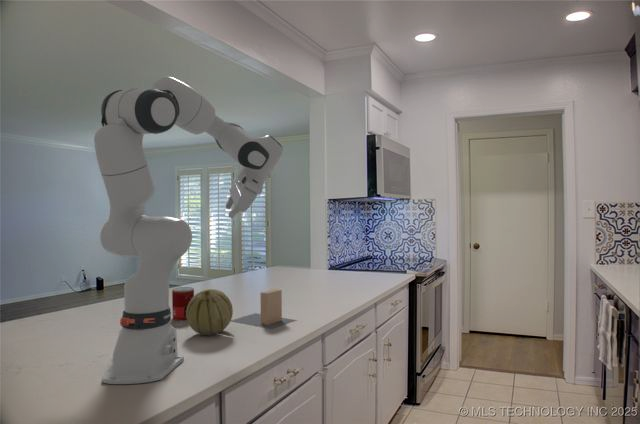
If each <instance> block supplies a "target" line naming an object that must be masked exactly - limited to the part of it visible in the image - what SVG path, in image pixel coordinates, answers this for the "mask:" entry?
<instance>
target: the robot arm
mask: <svg viewBox="0 0 640 424" xmlns="http://www.w3.org/2000/svg"><path fill="white" fill-rule="evenodd" d="M100 109H101V110H100V111H101V121H100V123H101V125H102V126H101V127H100V128H99V129H97V130H96V132H95V134H94V136H93V142H94V149H95V150H94V151H95V155H96V160H97V164H98V169H99V171H100V174H101V177H102V180H103V184H104V187H105V190H106V193H107V196H108V197H107V198H108V201H109V215H108V219H107V221H105V223H104V224H103V226H102V228H101V231H100V237H99V238H100V243H101V246H102V248H103V249H104V250H105V251H106V252H108V253H110V254H112V255H115V256H121V257H123V258H124V257H127V258H140V263H139V266H138V268H137V270H136V272H134V273H132V274H130V275H129V276H128V277H127V278H126V279H125V282H124V287H123V289H124V290H123V292H124V294H123V295H124V301H123V302H124V304H123V305H124V309H123V310H122V315H121V318H120V320H119V323H120V326H121V327H122V328H121V329H120V330H119V332H118V336H117V340H116V342H115V347H114V350H113V354H112V358H111V359H110V360H109V363H108V364H107V367H106V370H105V372H104V373H103V375H102V378H101V382H102V383H103V384H111V385H135V384H143V383H152V382H157V381H161V380H162V379H164V378H165V377H166V376H167V375H168V374H169V373H171V372H172V371H173V370H174V369H176V367H178V366H179V365H180V364H181V363H182V362H184V360H185V357H184V355H182V354H179V352H178V335H177V328H175V327H174V326H173V325H172V324H171V316H172V312H171V307H170V306H169V303H170V301H169V296H170V280H171V276H172V273H173V270H174V268H175V265H177V262H178V261H179V260H180V259H181V257H182V256H185V254H186V253H187V252H188V251H189V249H190V247H191V245H192V241H193V232H192V229H191V226H190V225H189V224H188V222H186V221H185V219H181V218H176V217H172V216H157V215H156V216H152V215H151V216H148V215H147V213H146V207H145V205H146V204H147V203H148V202H149V201H150V200H151V199H152V198H153V196H154V195H155V191H156V190H155V185H154V182H153V181H154V180H153V178H152V174H151V172H150V168H149V164H148V161H147V158H146V155H145V152H144V150H143V140H144V139H143V138H144V135H147V134H148V135H149V134H153V135H158V134H162V133H166V132H167V131H169V130H171V129H172V128H173V127H174V125H176V126H177V127H178V128H180V129H182V131H183V130H184V131H186V132H188V133H190V134H193V135H195V136H196V135H202V134H203V133H206V134H207V135H210V136H211V137H212V138H214V140H215V142H216V144H217V145H218V147H219V149H221V150H222V151H223V152H225V153H226V154H227V155H228V156H230V158H232V159H233V160H234V161H236V163H237V164H238V165H241V166H242V168H241V170H240V171H239V172H238V174H237V176H236V177H237V178H236V179H235V181H234V182H233V183H232V185H231V186H230V188H229V189H228V190H229V192H228V193H229V194H230V195H229V197H228V200H227V202H226V204H225V205H224V206H225V208H226V209H228V210H230V211H229V213H227V214H228V218H230V219H232V220H233V219H234V217H235V216H236V215H237V214H239V213H240V212H242V213H245V212H247V210H249V208H250V207H251V206H252V205H253V203H254V201H255V200H256V199H257V197H258V195H259V196H260V195H261V194H262V193H263V187H264V184H265V182H266V180H267V179H268V175H269V174H270V172H271V171H273V170H274V169H275V167H276V165H277V164H278V162H279V161H280V159H281V157H282V154H283V152H284V149H283V146H282V145H281V143H280V142H279V141H278V140H276V139H275V138H274V137H273V136H271V135H269V134H267V135H265V136H260V137H259V136H253V135H251V134H250V133H249V132H247V131H246V130H245V129H244V128H243V127H242V126H241V125H240V124H237V123H234V122H228V121H224V120H223V119H222V118H220V117H219V116H218V115H216V109H215V108H214V106H213V105H212V103H211V102H210V101H209V100H208V99H207V98H206V97H205V96H204V95H202V94H200V92H198V91H197V90H196V89H194V88H193V87H191V86H190V85H188V84H186V83H185V82H183V81H181V80H179V79H177V78H175V77H172V76H167V75H166V76H162V77H159V78H158V79H156V80H155V81H154V82H153V83H152V85H151V87H150V89H148V88H147V89H146V88H145V89H143V88H129V89H119V90H115V91H112V92H111V93H110V92H109V94H107V95H106V96H105V97H104V99H103V100H102V103H101V108H100ZM233 205H234V206H233ZM232 207H233V208H232ZM231 208H232V210H231Z"/></svg>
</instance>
